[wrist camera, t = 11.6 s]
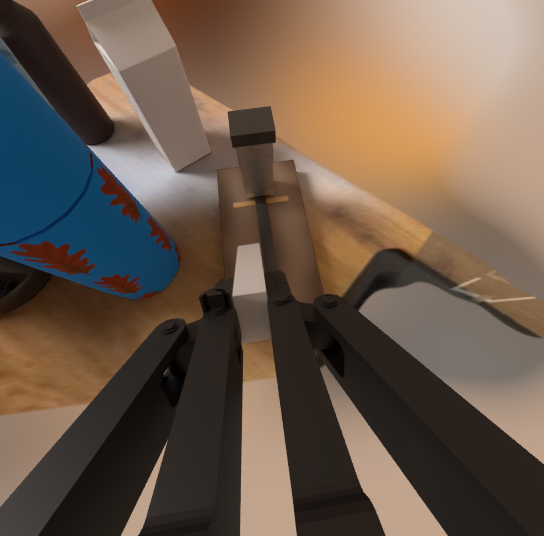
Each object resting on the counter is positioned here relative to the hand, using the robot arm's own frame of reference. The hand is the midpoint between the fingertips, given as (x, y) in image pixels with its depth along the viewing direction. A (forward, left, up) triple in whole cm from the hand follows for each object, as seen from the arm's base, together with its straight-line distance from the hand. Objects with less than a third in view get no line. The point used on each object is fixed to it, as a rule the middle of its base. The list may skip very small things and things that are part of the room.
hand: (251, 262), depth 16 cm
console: (+2, +9, -15) cm, 18 cm away
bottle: (-26, +36, -16) cm, 48 cm away
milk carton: (-10, +29, -16) cm, 35 cm away
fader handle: (+2, +17, -12) cm, 21 cm away
